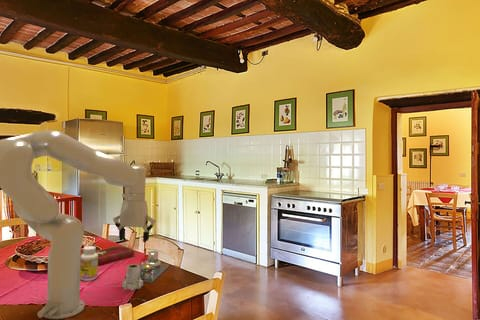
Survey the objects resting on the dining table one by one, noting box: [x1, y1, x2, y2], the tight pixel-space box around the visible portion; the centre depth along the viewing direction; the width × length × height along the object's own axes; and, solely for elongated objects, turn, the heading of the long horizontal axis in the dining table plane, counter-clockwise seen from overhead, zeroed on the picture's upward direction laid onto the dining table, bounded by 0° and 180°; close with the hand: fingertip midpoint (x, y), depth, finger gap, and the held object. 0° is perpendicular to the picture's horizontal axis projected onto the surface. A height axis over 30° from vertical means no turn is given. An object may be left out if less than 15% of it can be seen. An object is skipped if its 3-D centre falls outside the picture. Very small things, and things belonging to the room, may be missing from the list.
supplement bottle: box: [80, 245, 99, 282], centre depth 139 cm, size 7×7×13 cm
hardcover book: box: [95, 244, 136, 267], centre depth 165 cm, size 12×21×4 cm, turn 142°
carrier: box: [124, 250, 170, 284], centre depth 147 cm, size 19×12×8 cm, turn 172°
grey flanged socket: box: [121, 263, 144, 291], centre depth 133 cm, size 8×8×8 cm
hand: (133, 240), depth 133 cm, fingers open, 9 cm apart
